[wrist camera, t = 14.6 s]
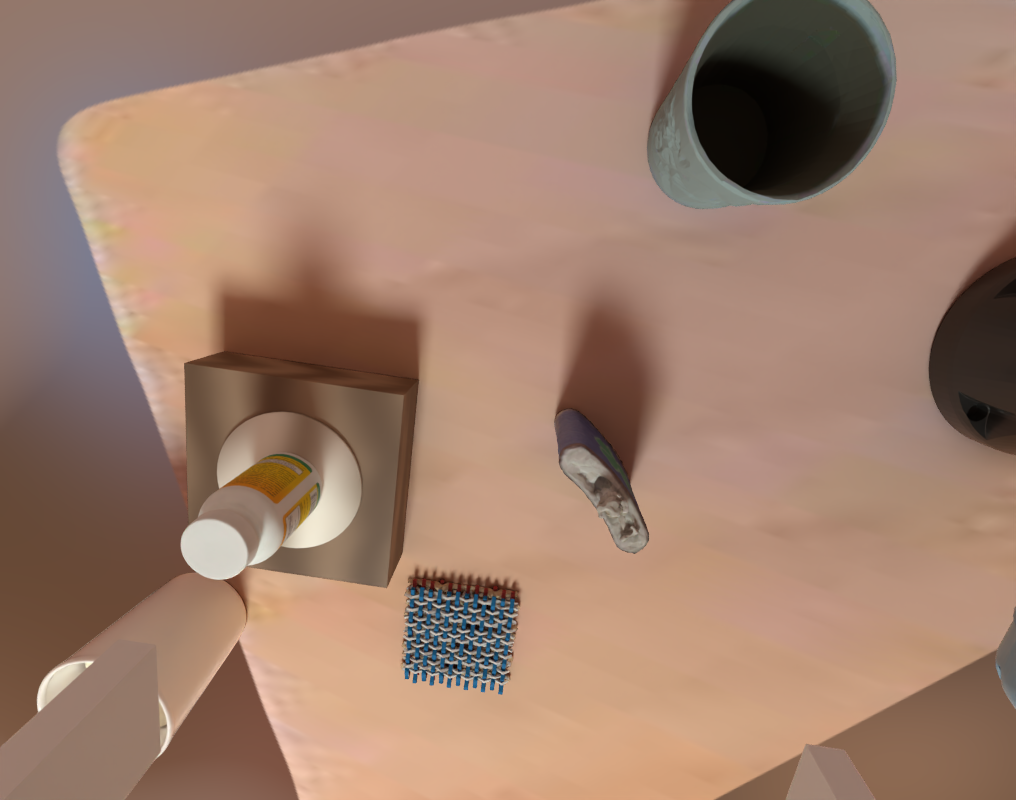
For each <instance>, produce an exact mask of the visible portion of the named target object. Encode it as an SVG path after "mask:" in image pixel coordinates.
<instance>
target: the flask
mask: <svg viewBox="0 0 1016 800" xmlns="http://www.w3.org/2000/svg"><path fill="white" fill-rule="evenodd" d="M554 426H555V430H556V435H557V442H558V454H559V465H560V467H561V469H562V470H563V472H564V474H565V475H566V476H567V477H568V478H569V479H570V480H572V481H573V482H574V483H575V484H576V485H577V486H578V487H579V488H580V489H581V490H582V491H583V492H584V493H585V494H586V496H587V498H588V499H589V500H590V501H591V502H592V504H593V505H594V506H595V508H596V509H597V511H598V516H599V518H603V519H604V521H605V523H606V525H607V526H608V528H609V531H610V533H611V535H612V538H613V540H614V542H615V544H616V545H617V547H618V548H619V549H621V550H622V551H625V552H628V553H634V554H635V553H637V552H638V551H640V550H641V549H643V548H644V547H645V546H646V544H647V543H648V541H649V532H648V530H647V527H646V524H645V522H644V519H643V517H642V515H641V512H640V510H639V507H638V504H637V502H636V499H635V497H634V494H633V492H632V488H631V485H630V481H629V478H628V475H627V472H626V470H625V468H624V466H623V464H622V461H621V460H620V459H619V456H618V455H617V453H616V451H614V449H613V448H612V446H611V444H609V443H608V442H607V440H605V438H604V437H603V436H602V435H601V433H600V432H599V431H598V430H597V429H596V428H595V427H594V425H593V424H592V423H591V422H590V421H589V420H588V419H587V418H586V417H585V416H584V415H583V414H581V413H580V412H579V411H577V410H573V409H565V410H563V411H561V412H559V413H558V415H557V416H556V418H555V421H554Z"/></svg>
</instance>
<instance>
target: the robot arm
mask: <svg viewBox="0 0 1016 800" xmlns="http://www.w3.org/2000/svg"><path fill="white" fill-rule="evenodd" d="M929 378H930V386H931V391H932V394H933V397H934V400H935V403H936V405H937V407H938V409H939V410H940V412H941V414H942V415H943V416H944V418H945V419H946V420H947V421H948V422H949V424H950V425H952V426H953V427H954V428H955V429H956V430H957V431H959V432H960V433H961V434H963V435H964V436H966V437H968V438H970V439H972V440H974V441H977V442H979V443H981V444H984V445H986V446H989V447H991V448H994V449H996V450H999V451H1002V452H1005V453H1009V454H1013V455H1016V258H1014V259H1012V260H1009V261H1007V262H1005V263H1003V264H1001V265H1000V266H998V267H996V268H994V269H993V270H991V271H990V272H988V273H987V274H985V275H984V276H982V277H981V278H980V279H979V280H977V281H976V282H975V283H974V284H973V285H971V286H970V287H969V288H968V289H967V290H966V291H965V292H964V293H963V294H962V295H961V296H960V298H959V299H958V300H957V301H956V302H955V304H954V305H953V306H952V308H951V309H950V311H949V312H948V314H947V315H946V317H945V318H944V320H943V322H942V324H941V326H940V328H939V330H938V332H937V335H936V338H935V340H934V344H933V347H932V351H931V356H930V365H929ZM1013 617H1014V620H1013V622H1012V623H1011V625H1010V627H1009V629H1008V631H1007V632H1006V634H1005V636H1004V638H1003V640H1002V641H1001V643H1000V645H999V647H998V650H997V653H996V669H997V672H998V675H999V677H1000V679H1001V682H1002V687H1003V689H1004V691H1005V693H1006V695H1007V697H1008V698H1009V700H1010V702H1011V703H1012V705H1013V706H1014V708H1015V709H1016V607H1015V609H1014V614H1013ZM160 752H161V741H160V719H159V697H158V676H157V654H156V645H155V644H148V643H142V642H135V641H129V640H122V639H118V640H117V641H116V642H115V643H114V644H113V645H112V646H111V647H109V648H108V649H107V650H106V651H105V652H104V653H103V654H102V655H101V656H100V657H98V658H97V659H96V660H95V661H94V662H93V663H92V664H91V665H90V666H89V667H88V668H86V669H85V670H84V671H83V672H82V673H81V674H80V675H79V676H78V677H77V678H76V679H74V680H73V681H72V682H71V683H70V684H69V685H68V686H67V687H66V688H65V689H63V690H62V691H61V692H60V693H59V694H58V695H57V696H56V697H55V698H54V699H53V700H51V701H50V702H49V703H48V704H47V705H46V706H45V707H44V708H43V709H42V710H40V711H39V712H38V713H37V714H36V715H35V716H34V717H33V718H32V719H31V720H30V721H28V722H27V723H26V724H25V725H24V726H23V727H22V728H21V729H20V730H19V731H17V732H16V733H15V734H14V735H13V736H12V737H11V738H10V739H9V740H8V741H7V742H5V743H4V744H3V745H2V746H1V747H0V800H125V798H126V797H127V796H128V794H129V793H130V792H131V790H132V789H133V788H134V787H135V785H136V784H137V782H138V781H139V780H140V779H141V777H142V776H143V775H144V773H145V772H146V771H147V769H148V768H149V767H150V766H151V764H152V763H153V761H154V760H155V759H156V758H157V756H158V755H159V754H160ZM786 800H876V799H875V798H874V796H873V795H872V793H871V791H870V790H869V788H868V787H867V785H866V783H865V782H864V780H863V779H862V777H861V775H860V774H859V772H858V771H857V769H856V767H855V766H854V764H853V763H852V761H851V759H850V758H849V756H848V755H847V753H846V752H845V750H843V749H836V748H829V747H823V746H817V745H810V744H806V745H805V748H804V750H803V753H802V756H801V759H800V761H799V764H798V767H797V770H796V772H795V775H794V778H793V781H792V783H791V787H790V789H789V792H788V795H787V797H786Z"/></svg>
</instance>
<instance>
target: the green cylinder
mask: <svg viewBox="0 0 1016 800" xmlns="http://www.w3.org/2000/svg"><path fill="white" fill-rule="evenodd" d="M895 87H896V58H895V53H894V49H893V45H892V40H891V36H890V33H889V31H888V30H887V28H886V26H885V24H884V22H883V20H882V18H881V16H880V14H879V13H878V12H877V11H876V9H875V8H874V7H873V6H872V5H871V3H870V2H869V1H868V0H732V1H731V2H730V3H729V4H728V5H727V6H725V8H724V9H723V10H722V11H721V12H720V13H719V14H718V15H717V16H716V17H715V18H714V20H713V21H712V22H711V23H710V25H709V26H708V28H707V30H706V31H705V33H704V34H703V36H702V38H701V39H700V41H699V42H698V44H697V46H696V48H695V50H694V52H693V54H692V56H691V57H690V59H689V60H688V62H687V64H686V66H685V67H684V69H683V72H682V73H681V75H680V76H679V78H678V79H677V81H676V82H675V84H674V86H673V88H672V89H671V91H670V93H669V94H668V96H667V97H666V99H665V100H664V102H663V104H662V105H661V107H660V108H659V110H658V112H657V113H656V115H655V118H654V120H653V122H652V125H651V128H650V131H649V136H648V143H647V153H648V162H649V166H650V170H651V173H652V175H653V177H654V180H655V182H656V183H657V185H658V186H659V187H660V189H661V190H662V191H663V192H664V193H665V194H666V195H667V196H668V197H669V198H671V199H672V200H674V201H675V202H677V203H680V204H682V205H684V206H687V207H692V208H697V209H711V208H721V207H726V206H729V205H731V206H745V205H751V204H756V205H778V204H789V203H796V202H800V201H803V200H807V199H810V198H812V197H815V196H817V195H819V194H822V193H824V192H825V191H827V190H829V189H830V188H832V187H834V186H835V185H837V184H838V183H839V182H841V181H842V180H844V179H845V178H846V177H847V176H848V175H849V174H851V173H852V172H853V171H854V170H855V169H856V168H857V166H858V165H859V164H860V163H861V162H862V161H863V160H864V159H865V158H866V156H867V155H868V154H869V152H870V151H871V149H872V148H873V147H874V145H875V144H876V142H877V140H878V138H879V136H880V134H881V133H882V131H883V129H884V127H885V125H886V122H887V119H888V117H889V114H890V111H891V107H892V102H893V98H894V93H895Z"/></svg>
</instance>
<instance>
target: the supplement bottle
mask: <svg viewBox="0 0 1016 800" xmlns="http://www.w3.org/2000/svg"><path fill="white" fill-rule="evenodd" d="M321 496H322V482H321V479H320V476H319V474H318V472H317V471H316V469H315V468H314V466H313V465H312V464H311V463H309V462H308V461H307V460H305V459H303V458H302V457H300V456H298V455H295V454H292V453H287V452H280V453H274V454H271V455H268V456H266V457H264V458H263V459H261V460H260V461H258V462H257V463H256V464H254V465H253V466H251V467H250V468H248V469H247V470H245V471H244V472H243V473H241V474H240V475H238V476H237V477H236V478H234V479H233V480H231V481H230V482H228V483H227V484H226V485H224V486H223V487H221V488H220V489H219V490H217V491H216V492H214V493H213V494H212V495H211V496H209V497H208V498H207V499H206V501H205V502H204V503H203V505H202V507H201V509H200V512H199V515H198V518H197V519H196V520H194V521H193V522H192V523H191V524H190V525H189V526H188V527H187V528H186V529H185V531H184V532H183V535H182V537H181V551H182V555H183V557H184V559H185V560H186V562H187V563H188V565H189V566H190V567H191V568H192V569H193V570H195V571H196V572H197V573H199V574H200V575H202V576H204V577H207V578H210V579H215V580H222V579H229V578H232V577H234V576H236V575H237V574H239V573H240V572H241V571H242V570H243V569H244V568H245V567H246V566H248V565H254V564H258V563H260V562H263V561H265V560H266V559H268V558H269V557H271V556H272V555H273V554H274V553H275V552H276V551H277V550H278V549H279V548H280V547H281V546H282V545H283V543H284V542H285V541H286V540H287V539H288V538H289V537H290V536H291V535H292V534H293V532H294V531H295V530H296V529H297V528H298V527H299V526H300V525H301V524H302V523H303V522H304V520H305V519H306V518H307V517H308V516H309V515H310V514H311V513H312V512H313V511H314V509H315V508H316V507H317V505H318V504H319V502H320V499H321Z"/></svg>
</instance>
